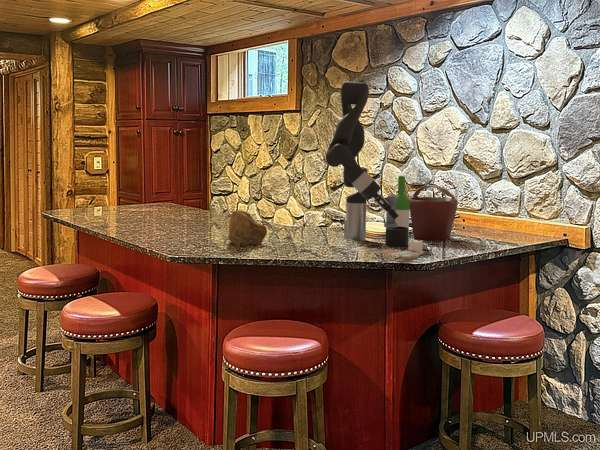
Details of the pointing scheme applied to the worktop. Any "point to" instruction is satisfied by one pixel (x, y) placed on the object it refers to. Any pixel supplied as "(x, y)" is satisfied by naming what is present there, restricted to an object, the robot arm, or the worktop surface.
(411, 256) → the board
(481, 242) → the worktop surface
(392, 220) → the pawn
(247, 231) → the rough brown rock
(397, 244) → the mug
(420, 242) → the die
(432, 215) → the bucket
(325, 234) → the worktop surface
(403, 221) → the wine bottle
